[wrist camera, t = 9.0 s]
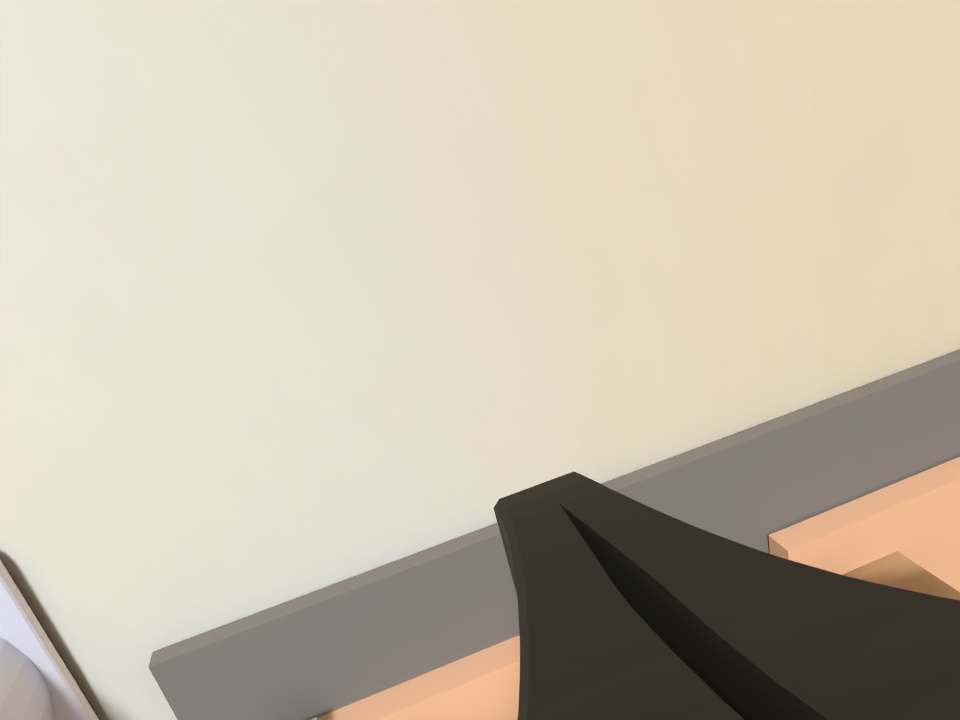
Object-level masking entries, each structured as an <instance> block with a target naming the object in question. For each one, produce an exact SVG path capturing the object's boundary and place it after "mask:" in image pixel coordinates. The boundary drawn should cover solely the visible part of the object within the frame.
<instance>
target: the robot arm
mask: <svg viewBox="0 0 960 720" xmlns="http://www.w3.org/2000/svg"><path fill="white" fill-rule="evenodd" d="M494 511H495V515H496V519H497V522H498V526H499V530H500V534H501V537H502V541H503V545H504V548H505V552H506V556H507V560H508V563H509V567H510V571H511V575H512V578H513V582H514V586H515V590H516V593H517V597H518V614H519V634H520V684H519V708H518V720H960V600H955V599H949V598H944V597H938V596H934V595H929V594H924V593H920V592H915V591H910V590H906V589H901V588H896V587H891V586H887V585H882V584H877V583H873V582H869V581H865V580H861V579H857V578H853V577H849V576H844V575H841V574H837V573H833V572H830V571H826V570H823V569H819V568H816V567H812V566H809V565H805V564H802V563H798V562H795V561H791V560H788V559H784V558H781V557H778V556H775V555H772V554H769V553H766V552H763V551H760V550H757V549H754V548H751V547H748V546H746V545H743V544H740V543H737V542H735V541H732V540H729V539H726V538H724V537H721V536H718V535H716V534H713V533H710V532H708V531H705V530H703V529H700V528H698V527H695V526H693V525H690V524H688V523H685V522H683V521H681V520H678V519H676V518H673V517H671V516H669V515H667V514H664V513H662V512H660V511H657V510H655V509H653V508H651V507H649V506H646V505H644V504H642V503H640V502H638V501H636V500H633V499H631V498H629V497H627V496H625V495H623V494H621V493H619V492H616V491H614V490H612V489H610V488H608V487H606V486H604V485H602V484H600V483H598V482H596V481H593V480H591V479H589V478H587V477H585V476H583V475H581V474H578V473H576V472H572V473H569V474H566V475H563V476H561V477H558V478H555V479H553V480H550V481H547V482H544V483H542V484H539V485H536V486H534V487H531V488H528V489H525V490H523V491H520V492H517V493H515V494H512V495H509V496H506V497H504V498H501V499H499V500H498V502H497V504H496V505H495V507H494ZM0 720H99V719H98V718H97V716H96V714H95V713H94V711H93V709H92V708H91V706H90V705H89V703H88V701H87V700H86V698H85V696H84V695H83V693H82V692H81V690H80V688H79V687H78V685H77V683H76V682H75V680H74V679H73V677H72V675H71V674H70V672H69V670H68V669H67V667H66V666H65V664H64V662H63V661H62V659H61V657H60V656H59V654H58V653H57V651H56V649H55V648H54V646H53V644H52V643H51V641H50V640H49V638H48V636H47V635H46V633H45V632H44V630H43V628H42V627H41V625H40V623H39V622H38V620H37V619H36V617H35V615H34V614H33V612H32V610H31V609H30V607H29V606H28V604H27V602H26V601H25V599H24V597H23V596H22V594H21V593H20V591H19V589H18V588H17V586H16V584H15V583H14V581H13V580H12V578H11V576H10V575H9V573H8V571H7V570H6V568H5V567H4V565H3V563H2V562H1V560H0Z"/></svg>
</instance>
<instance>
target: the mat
mask: <svg viewBox="0 0 960 720" xmlns="http://www.w3.org/2000/svg"><path fill="white" fill-rule="evenodd" d="M957 457H960V350H957V351H954V352H952V353H949V354H946V355H944V356H941V357H938V358H936V359H933V360H930V361H928V362H925V363H922V364H920V365H917V366H914V367H912V368H909V369H906V370H904V371H901V372H898V373H896V374H893V375H890V376H888V377H885V378H882V379H880V380H877V381H874V382H872V383H869V384H866V385H864V386H861V387H858V388H856V389H853V390H850V391H848V392H845V393H842V394H840V395H837V396H834V397H832V398H829V399H826V400H824V401H821V402H818V403H816V404H813V405H810V406H808V407H805V408H802V409H800V410H797V411H794V412H792V413H789V414H786V415H784V416H781V417H778V418H776V419H773V420H770V421H768V422H765V423H762V424H760V425H757V426H754V427H752V428H749V429H746V430H744V431H741V432H738V433H736V434H733V435H730V436H728V437H725V438H722V439H720V440H717V441H714V442H712V443H709V444H706V445H704V446H701V447H698V448H696V449H693V450H690V451H688V452H685V453H682V454H680V455H677V456H674V457H672V458H669V459H666V460H664V461H661V462H658V463H656V464H653V465H650V466H648V467H645V468H642V469H640V470H637V471H634V472H632V473H629V474H626V475H624V476H621V477H618V478H616V479H613V480H610V481H608V482H605V483H602V485H604V486H606V487H608V488H610V489H612V490H614V491H616V492H619V493H621V494H623V495H625V496H627V497H629V498H631V499H633V500H636V501H638V502H640V503H642V504H644V505H646V506H649V507H651V508H653V509H655V510H657V511H660V512H662V513H664V514H667V515H669V516H671V517H673V518H676V519H678V520H681V521H683V522H685V523H688V524H690V525H693V526H695V527H698V528H700V529H703V530H705V531H708V532H710V533H713V534H716V535H718V536H721V537H724V538H726V539H729V540H732V541H735V542H737V543H740V544H743V545H746V546H748V547H751V548H754V549H757V550H760V551H763V552H766V553H769V554H770V549H769V537H768V535H770V534H772V533H775V532H777V531H780V530H782V529H785V528H787V527H789V526H792V525H794V524H797V523H799V522H802V521H804V520H807V519H809V518H811V517H814V516H816V515H819V514H821V513H824V512H826V511H828V510H831V509H833V508H836V507H838V506H841V505H843V504H845V503H848V502H850V501H853V500H855V499H858V498H860V497H862V496H865V495H867V494H870V493H872V492H875V491H877V490H880V489H882V488H884V487H887V486H889V485H892V484H894V483H897V482H899V481H901V480H904V479H906V478H909V477H911V476H914V475H916V474H918V473H921V472H923V471H926V470H928V469H931V468H933V467H936V466H938V465H940V464H943V463H945V462H948V461H950V460H953V459H955V458H957ZM518 635H520V634H519V614H518V597H517V593H516V590H515V586H514V582H513V578H512V575H511V571H510V567H509V563H508V560H507V556H506V552H505V548H504V545H503V541H502V537H501V534H500V530H499V526H498V523H496V524H493V525H490V526H488V527H485V528H482V529H480V530H477V531H474V532H472V533H469V534H466V535H464V536H461V537H458V538H456V539H453V540H450V541H448V542H445V543H442V544H440V545H437V546H434V547H432V548H429V549H426V550H424V551H421V552H418V553H416V554H413V555H410V556H408V557H405V558H402V559H400V560H397V561H394V562H392V563H389V564H386V565H384V566H381V567H378V568H376V569H373V570H370V571H368V572H365V573H362V574H360V575H357V576H354V577H352V578H349V579H346V580H344V581H341V582H339V583H336V584H333V585H331V586H328V587H325V588H323V589H320V590H317V591H315V592H312V593H309V594H307V595H304V596H301V597H299V598H296V599H293V600H291V601H288V602H285V603H283V604H280V605H277V606H275V607H272V608H269V609H267V610H264V611H261V612H259V613H256V614H253V615H251V616H248V617H245V618H243V619H240V620H237V621H235V622H232V623H229V624H227V625H224V626H221V627H219V628H216V629H213V630H211V631H208V632H205V633H203V634H200V635H197V636H195V637H192V638H189V639H187V640H184V641H181V642H179V643H176V644H173V645H171V646H168V647H165V648H163V649H160V650H157V651H155V652H153V653H152V657H151V661H150V664H149V669H150V670H151V672H152V674H153V676H154V678H155V679H156V681H157V683H158V685H159V687H160V688H161V690H162V692H163V694H164V696H165V698H166V699H167V701H168V703H169V705H170V707H171V708H172V710H173V712H174V714H175V716H176V717H177V719H178V720H311V719H313V718H316V717H317V718H318V717H321V716H323V715H325V714H328V713H330V712H333V711H335V710H338V709H340V708H342V707H345V706H347V705H350V704H352V703H355V702H357V701H360V700H362V699H364V698H367V697H369V696H372V695H374V694H377V693H379V692H382V691H384V690H386V689H389V688H391V687H394V686H396V685H399V684H401V683H403V682H406V681H408V680H411V679H413V678H416V677H418V676H421V675H423V674H425V673H428V672H430V671H433V670H435V669H438V668H440V667H442V666H445V665H447V664H450V663H452V662H455V661H457V660H460V659H462V658H464V657H467V656H469V655H472V654H474V653H477V652H479V651H482V650H484V649H486V648H489V647H491V646H494V645H496V644H499V643H501V642H503V641H506V640H508V639H511V638H513V637H516V636H518Z"/></svg>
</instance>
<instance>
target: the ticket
mask: <svg viewBox="0 0 960 720" xmlns="http://www.w3.org/2000/svg"><path fill="white" fill-rule="evenodd" d="M519 684H520V635H518V636H516V637H513V638H511V639H508V640H506V641H503V642H501V643H499V644H496V645H494V646H491V647H489V648H486V649H484V650H482V651H479V652H477V653H474V654H472V655H469V656H467V657H464V658H462V659H460V660H457V661H455V662H452V663H450V664H447V665H445V666H442V667H440V668H438V669H435V670H433V671H430V672H428V673H425V674H423V675H421V676H418V677H416V678H413V679H411V680H408V681H406V682H403V683H401V684H399V685H396V686H394V687H391V688H389V689H386V690H384V691H382V692H379V693H377V694H374V695H372V696H369V697H367V698H364V699H362V700H360V701H357V702H355V703H352V704H350V705H347V706H345V707H342V708H340V709H338V710H335V711H333V712H330V713H328V714H325V715H323V716H321V717H318V718H317V717H316V718H313V719H311V720H518V708H519Z"/></svg>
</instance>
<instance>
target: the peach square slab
mask: <svg viewBox="0 0 960 720" xmlns="http://www.w3.org/2000/svg"><path fill="white" fill-rule="evenodd" d="M768 537H769V549H770V554H772V555H775V556H778V557H781V558H784V559H788V560H791V561H795V562H798V563H802V564H805V565H809V566H812V567H816V568H819V569H823V570H826V571H830V572H833V573H837V574H841V575H844V576H849V577H853V578H857V579H861V580H865V581H869V582H873V583H877V584H882V585H887V586H891V587H896V588H901V589H906V590H910V591H915V592H920V593H924V594H929V595H934V596H938V597H944V598H949V599H955V600H960V457H957V458H955V459H953V460H950V461H948V462H945V463H943V464H940V465H938V466H936V467H933V468H931V469H928V470H926V471H923V472H921V473H918V474H916V475H914V476H911V477H909V478H906V479H904V480H901V481H899V482H897V483H894V484H892V485H889V486H887V487H884V488H882V489H880V490H877V491H875V492H872V493H870V494H867V495H865V496H862V497H860V498H858V499H855V500H853V501H850V502H848V503H845V504H843V505H841V506H838V507H836V508H833V509H831V510H828V511H826V512H824V513H821V514H819V515H816V516H814V517H811V518H809V519H807V520H804V521H802V522H799V523H797V524H794V525H792V526H789V527H787V528H785V529H782V530H780V531H777V532H775V533H772V534H770V535H768Z"/></svg>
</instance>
